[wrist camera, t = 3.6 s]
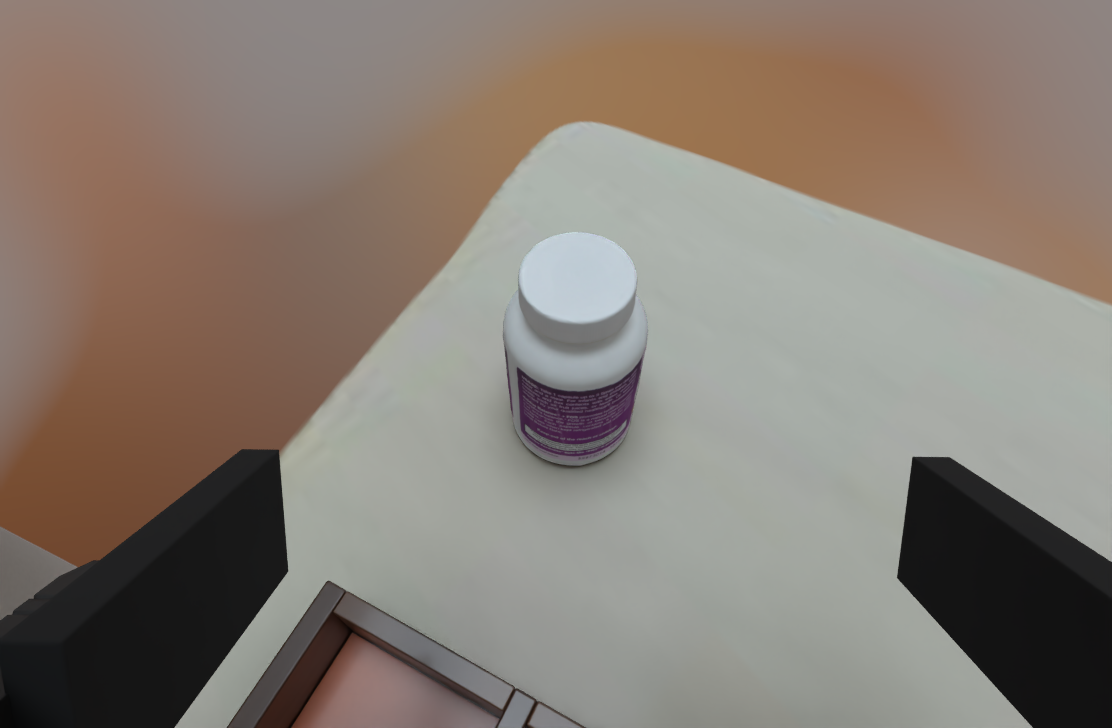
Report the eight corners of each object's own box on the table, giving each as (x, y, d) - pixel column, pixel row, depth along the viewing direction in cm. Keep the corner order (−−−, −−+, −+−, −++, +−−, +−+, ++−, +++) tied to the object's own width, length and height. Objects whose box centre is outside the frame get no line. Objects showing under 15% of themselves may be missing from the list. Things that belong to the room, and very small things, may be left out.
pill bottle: (656, 429, 31) (693, 294, 23) (555, 492, 30) (557, 370, 22) (585, 344, 34) (597, 194, 26) (488, 398, 32) (468, 256, 24)
